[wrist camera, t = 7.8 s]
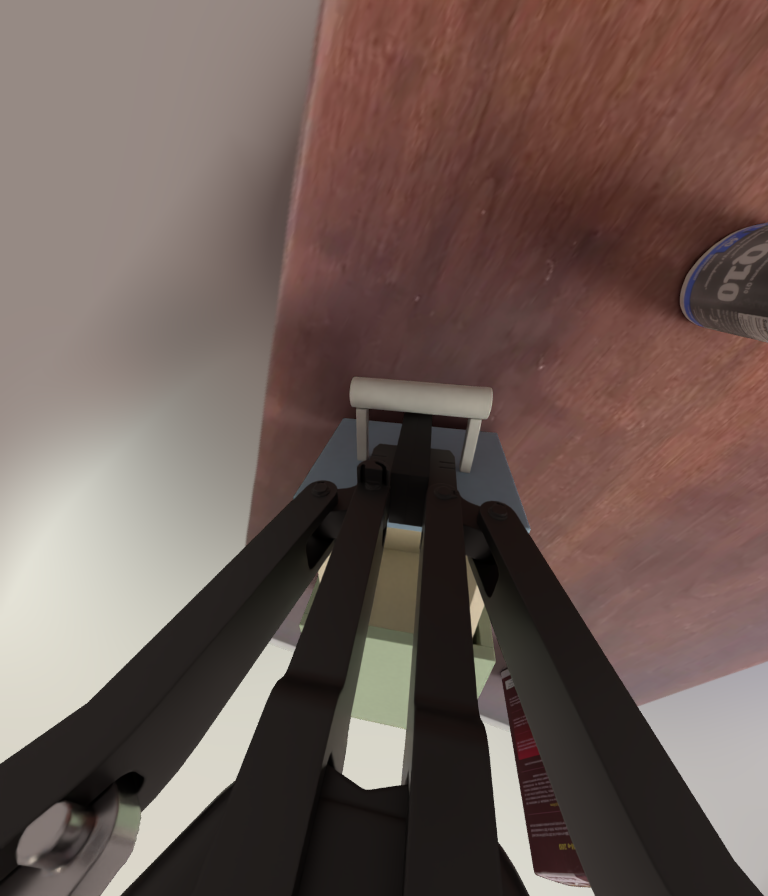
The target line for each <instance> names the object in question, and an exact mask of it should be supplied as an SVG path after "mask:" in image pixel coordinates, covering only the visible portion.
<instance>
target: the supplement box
mask: <svg viewBox="0 0 768 896" xmlns="http://www.w3.org/2000/svg"><path fill="white" fill-rule="evenodd" d="M501 677H502V683H503V689H504V695H505V701H506V707H507V713H508V718H509V725H510V731H511V737H512V742H513V748H514V754H515V761H516V766H517V772H518V778H519V784H520V790H521V796H522V801H523V808H524V814H525V820H526V826H527V833H528V838H529V844H530V850H531V856H532V862H533V868H534V873H535V874H536V875H538V876H540V877H543V878H546V879H549V880H552V881H555V882H558V883H562V884H565V885H569V886H576V887H591V886H590V884H589V882H588V880H587V877H586V875H585V872H584V870H583V867H582V865H581V862H580V860H579V857H578V855H577V852H576V850H575V848H574V845H573V843H572V840H571V838H570V835H569V832H568V830H567V827H566V824H565V821H564V819H563V816H562V813H561V811H560V808H559V805H558V802H557V800H556V797H555V794H554V792H553V789H552V786H551V784H550V781H549V778H548V775H547V773H546V770H545V767H544V765H543V762H542V759H541V757H540V754H539V751H538V748H537V746H536V743H535V740H534V738H533V735H532V732H531V729H530V727H529V724H528V721H527V719H526V716H525V713H524V711H523V708H522V705H521V702H520V700H519V697H518V694H517V692H516V689H515V686H514V683H513V681H512V678H511V675H510V673H509V670H508V669H507V670H505V671H503V672H501Z"/></svg>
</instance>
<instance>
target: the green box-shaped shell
mask: <svg viewBox="0 0 768 896" xmlns="http://www.w3.org/2000/svg"><path fill="white" fill-rule="evenodd" d="M319 584H320V582H319V576H318V579H317V581H316V584H315V586H314V589H313V591H312V594H311V597H310V599H309V602H308V604H307V607H306V609H305V612H304V614H303V617H302V619H301V622H300V625H299V626H300V630H301V632H302V630H303V627H304V624H305V622H306V619H307V616H308V614H309V611H310V608H311V606H312V603H313V600H314V598H315V595H316V592H317V590H318V587H319ZM472 639H473V651H474V663H475V675H476V687H477V699H478V697H479V695H480V693H481V691H482V689H483V687H484V685H485V683H486V681H487V679H488V677H489V675H490V673H491V670H492V668H493V666H494V664H495V662H496V659H495V652H494V645H493V638H492V631H491V624H490V619H489V616H488V613H487V610H486V608H485V605H484V608H483V610H482V613H481V616H480V619H479V621H478V624H477V627H476V630H475V632H474V635H473V638H472ZM412 648H413V633H407V632H402V631H396V630H391V629H385V628H380V627H374V626H368V631H367V637H366V642H365V647H364V652H363V657H362V662H361V667H360V672H359V678H358V683H357V688H356V693H355V698H354V703H353V708H352V713H351V717H353V718H357V719H362V720H366V721H371V722H375V723H380V724H384V725H389V726H393V727H398V728H402V729H406V727H407V714H408V701H409V688H410V674H411V661H412Z"/></svg>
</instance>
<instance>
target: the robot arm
mask: <svg viewBox="0 0 768 896" xmlns="http://www.w3.org/2000/svg"><path fill="white" fill-rule="evenodd" d="M432 415H433V414H422V413H412V412H405V414H404V418H403V423H402V427H401V431H400V435H399V439H398V444H397V445H389V444H378V445H377V446H376V447H375V448H374V449H373V452H372V456H371V458H370V460H365V461H363V462H361V463H359V465H358V466H357V485H355V486H353V487H349V488H341V489H337V486H336V485H335V484H334V483H333V482H331V481H326V480H320V481H315V482H313V483H311V484H309V485H308V486H306V487H305V488H304V489H303V490H302V491H301V492H300V493H299V494H298V495H297V496H296V497H295V498H294V499H293V500H292V501H291V502H290V503H289V504H288V505H287V506H286V507H285V508H284V509H283V510H282V511H281V512H280V513H279V514H278V515H277V516H276V517H275V518H274V519H273V520H272V521H271V522H270V523H269V524H268V525H267V526H266V527H265V528H264V529H263V530H262V531H261V532H260V533H259V534H258V535H257V536H256V537H255V538H254V539H253V540H252V541H251V542H250V543H249V544H248V545H247V546H246V547H245V548H244V549H243V550H242V551H241V552H240V553H239V554H238V555H237V556H236V557H235V558H234V559H233V560H232V561H231V562H230V563H229V564H228V565H226V566H225V568H223V569H222V570H221V571H220V572H219V573H218V574H217V575H216V576H215V578H213V579H212V580H211V581H210V582H209V583H208V584H207V585H206V586H205V587H204V588H203V589H202V590H201V591H200V592H199V593H198V594H197V595H196V596H195V597H194V598H193V599H192V600H191V601H190V602H189V603H188V604H187V605H186V606H185V607H184V608H183V609H182V610H181V611H180V612H179V613H178V614H177V615H176V616H175V617H174V618H173V619H172V620H171V621H170V622H169V623H168V624H167V625H166V626H165V627H164V628H163V629H162V630H161V631H160V632H159V633H158V634H157V635H156V636H155V637H154V638H153V639H152V640H151V641H150V642H149V643H148V644H147V645H146V646H145V647H143V648H142V649H141V650H140V652H138V653H137V655H135V657H133V658H132V659H131V660H130V661H129V662H128V663H127V664H126V665H125V666H124V667H123V668H122V669H121V670H120V671H119V672H118V673H117V674H116V675H115V676H114V677H113V678H112V679H111V680H110V681H109V682H108V683H107V684H106V685H105V686H104V687H103V688H102V689H101V690H100V691H99V692H98V693H97V694H96V695H95V696H94V697H93V698H92V699H91V700H90V701H89V702H88V703H87V704H85V705H84V706H82V707H81V708H79V709H78V710H77V711H75V712H74V713H72V714H71V715H69V716H68V717H67V718H65V719H64V720H62V721H61V722H60V723H58V724H57V725H55V726H54V727H53V728H51V729H49V730H48V731H47V732H45V733H44V734H43V735H41V736H40V737H38V738H37V739H35V740H34V741H33V742H31V743H30V744H28V745H27V746H25V747H24V748H23V749H21V750H20V751H18V752H17V753H15V754H14V755H13V756H11V757H10V758H8V759H7V760H5V761H4V762H2V763H1V764H0V896H100V895H101V894H102V893H103V891H104V890H105V888H106V887H107V886H108V884H109V883H110V882H111V880H112V879H113V878H114V876H115V875H116V873H117V872H118V871H119V869H120V868H121V867H122V866H123V865H124V864H125V863H126V861H127V859H128V858H129V856H130V855H131V853H132V851H133V848H134V845H135V842H136V837H137V834H138V831H139V825H140V820H141V812H142V811H143V810H144V809H145V808H146V807H147V806H148V805H149V804H150V803H151V802H152V801H153V800H154V799H155V798H156V796H157V795H158V794H159V793H160V792H161V790H162V789H163V788H164V787H165V786H166V785H167V784H168V782H169V781H170V780H171V779H172V778H173V776H174V775H175V774H176V773H177V772H178V771H179V769H180V768H181V767H182V765H183V764H184V762H185V761H186V759H187V758H188V757H189V756H190V754H191V753H192V752H193V750H194V749H195V748H196V746H197V745H198V744H199V742H200V741H201V739H202V738H203V736H204V735H205V733H206V732H207V731H208V729H209V727H210V726H211V725H212V723H213V722H214V721H215V719H216V718H217V716H218V715H219V713H220V712H221V710H222V709H223V708H224V706H225V705H226V703H227V702H228V700H229V699H230V697H231V696H232V695H233V693H234V692H235V690H236V689H237V687H238V686H239V684H240V683H241V682H242V680H243V679H244V677H245V676H246V674H247V673H248V672H249V670H250V669H251V667H252V666H253V664H254V663H255V661H256V660H257V659H258V657H259V656H260V654H261V653H262V651H263V650H264V648H265V647H266V646H267V644H268V643H269V641H270V640H271V638H272V637H273V635H274V634H275V633H276V631H277V630H278V628H279V627H280V625H281V624H282V623H283V621H284V620H285V618H286V617H287V615H288V614H289V612H290V611H291V610H292V608H293V607H294V605H295V604H296V602H297V601H298V599H299V598H300V597H301V595H302V594H303V592H304V591H305V589H306V588H307V586H308V585H309V584H310V582H311V581H312V579H313V578H314V576H315V575H316V573H317V572H318V571H319V569H320V568H321V566H322V565H323V563H324V562H325V560H326V559H327V558H328V556H329V555H330V553H331V555H330V557H329V560H328V563H327V565H326V568H325V571H324V574H323V576H322V579H321V582H320V584H319V587H318V590H317V592H316V595H315V598H314V600H313V603H312V606H311V608H310V611H309V614H308V616H307V619H306V622H305V624H304V627H303V630H302V632H301V635H300V638H299V640H298V643H297V646H296V649H295V651H294V654H293V657H292V659H291V662H290V665H289V667H288V669H287V672H286V673H285V675H284V676H283V677H282V678H281V679H280V680H278V681H277V683H276V684H275V686H274V687H273V689H272V691H271V693H270V696H269V698H268V700H267V702H266V705H265V707H264V710H263V712H262V715H261V717H260V720H259V722H258V725H257V727H256V730H255V733H254V735H253V738H252V740H251V743H250V745H249V748H248V750H247V753H246V755H245V758H244V761H243V763H242V766H241V768H240V771H239V773H238V776H237V778H236V781H234V782H233V783H232V784H231V785H229V786H228V787H227V788H226V789H225V790H223V791H222V792H221V793H220V794H219V795H218V796H217V797H216V798H215V799H214V800H213V801H212V802H211V803H210V804H209V805H208V806H207V807H206V808H205V809H204V811H203V812H202V813H201V814H200V815H199V816H198V817H197V818H196V819H195V820H194V821H193V822H192V823H191V824H190V825H189V826H188V827H187V828H186V829H185V830H184V831H183V832H182V833H181V834H180V835H179V836H178V837H177V838H176V839H175V840H174V841H173V842H172V843H171V844H170V845H169V846H168V848H166V850H165V851H164V852H163V853H162V854H161V855H160V856H159V857H158V858H157V859H156V860H155V861H154V862H153V863H152V864H151V865H150V866H149V867H148V868H147V869H146V870H145V871H144V872H143V873H142V874H141V875H140V876H139V877H138V878H137V879H136V880H135V881H134V882H133V883H132V884H131V885H130V886H129V887H128V888H127V889H126V890H125V891H124V893H122V895H121V896H529V894H528V892H527V890H526V888H525V886H524V884H523V882H522V880H521V878H520V876H519V874H518V872H517V871H516V869H515V867H514V865H513V864H512V862H511V861H510V859H509V857H508V856H507V854H506V852H505V851H504V850H503V848H502V847H501V845H500V844H499V843H498V838H497V828H496V818H495V808H494V798H493V787H492V777H491V767H490V756H489V747H488V741H487V734H486V730H485V726H484V724H483V722H482V720H481V718H480V715H479V709H478V699H477V687H476V675H475V663H474V651H473V639H472V627H471V614H470V602H469V590H468V578H467V566H466V556H467V558H468V562H469V564H470V567H471V570H472V573H473V575H474V578H475V581H476V583H477V586H478V589H479V591H480V594H481V597H482V600H483V602H484V605H485V608H486V610H487V613H488V616H489V619H490V621H491V624H492V627H493V629H494V632H495V635H496V637H497V640H498V643H499V646H500V648H501V651H502V654H503V656H504V659H505V662H506V665H507V667H508V670H509V673H510V675H511V678H512V681H513V683H514V686H515V689H516V692H517V694H518V697H519V700H520V702H521V705H522V708H523V711H524V713H525V716H526V719H527V721H528V724H529V727H530V729H531V732H532V735H533V738H534V740H535V743H536V746H537V748H538V751H539V754H540V757H541V759H542V762H543V765H544V767H545V770H546V773H547V775H548V778H549V781H550V784H551V786H552V789H553V792H554V794H555V797H556V800H557V802H558V805H559V808H560V811H561V813H562V816H563V819H564V821H565V824H566V827H567V830H568V832H569V835H570V838H571V840H572V843H573V845H574V848H575V850H576V852H577V855H578V857H579V860H580V862H581V865H582V867H583V870H584V872H585V875H586V877H587V880H588V882H589V884H590V886H591V888H592V890H593V892H594V894H595V896H764V895H763V894H762V893H761V892H760V891H759V889H758V888H757V887H756V886H755V885H754V884H753V882H752V881H751V880H750V879H749V878H748V876H747V875H746V874H745V873H744V872H743V871H742V869H741V868H740V867H739V866H738V865H737V863H736V862H735V861H734V859H733V858H732V856H731V855H730V853H729V852H728V850H727V848H726V847H725V845H724V844H723V842H722V840H721V839H720V838H719V836H718V834H717V832H716V831H715V829H714V828H713V826H712V825H711V823H710V821H709V820H708V818H707V817H706V815H705V813H704V812H703V810H702V809H701V807H700V805H699V804H698V802H697V801H696V799H695V797H694V796H693V794H692V793H691V791H690V790H689V788H688V786H687V785H686V783H685V781H684V780H683V778H682V777H681V775H680V774H679V772H678V770H677V769H676V767H675V766H674V764H673V762H672V761H671V759H670V758H669V756H668V754H667V753H666V751H665V750H664V748H663V746H662V745H661V744H660V742H659V740H658V739H657V737H656V735H655V734H654V732H653V731H652V729H651V727H650V726H649V724H648V723H647V721H646V719H645V718H644V716H643V715H642V713H641V711H640V710H639V708H638V707H637V705H636V704H635V702H634V700H633V699H632V697H631V696H630V694H629V692H628V691H627V689H626V688H625V686H624V684H623V683H622V681H621V680H620V678H619V676H618V675H617V673H616V672H615V670H614V668H613V667H612V665H611V664H610V662H609V661H608V659H607V657H606V656H605V654H604V653H603V651H602V649H601V648H600V646H599V645H598V643H597V641H596V640H595V638H594V637H593V635H592V633H591V632H590V630H589V629H588V627H587V626H586V624H585V622H584V621H583V619H582V618H581V616H580V614H579V613H578V611H577V610H576V608H575V606H574V605H573V603H572V602H571V600H570V598H569V597H568V595H567V594H566V592H565V591H564V589H563V587H562V586H561V584H560V583H559V581H558V579H557V578H556V576H555V575H554V573H553V571H552V570H551V568H550V567H549V565H548V563H547V562H546V560H545V559H544V557H543V555H542V554H541V552H540V551H539V549H538V548H537V546H536V544H535V543H534V541H533V540H532V538H531V536H530V535H529V533H528V532H527V530H526V528H525V527H524V525H523V524H522V522H521V520H520V519H519V517H518V516H517V514H516V513H515V511H514V510H513V509H512V508H511V507H509V506H508V505H506V504H505V503H502V502H499V501H486V502H484V503H483V504H481V506H478V505H475V504H473V503H470V502H468V501H466V500H465V499H463V498H462V497H461V495H460V493H459V491H458V490H457V479H456V466H455V456H454V455H453V454H452V452H451V451H450V450H442V449H433V448H431V434H432ZM387 523H396V524H403V525H410V526H417V527H422V532H421V539H420V546H419V549H420V554H419V568H418V581H417V594H416V608H415V621H414V634H413V648H412V661H411V674H410V688H409V701H408V714H407V727H406V740H405V750H404V759H403V770H402V783H401V785H399V786H392V787H386V788H379V789H372V790H365V789H362V788H361V787H359V786H358V785H356V784H355V783H354V782H352V781H351V780H349V779H348V778H346V777H345V776H344V775H342V771H343V765H344V760H345V754H346V747H347V737H348V730H349V724H350V719H351V713H352V708H353V703H354V698H355V693H356V688H357V683H358V678H359V672H360V667H361V662H362V657H363V652H364V647H365V642H366V637H367V631H368V626H369V621H370V616H371V611H372V606H373V601H374V596H375V590H376V585H377V580H378V575H379V570H380V565H381V560H382V555H383V549H384V544H385V539H386V534H387Z"/></svg>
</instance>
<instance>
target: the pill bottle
mask: <svg viewBox="0 0 768 896" xmlns="http://www.w3.org/2000/svg"><path fill="white" fill-rule="evenodd" d="M680 306H681V309H682V312H683V314H684V315H685V317H686V318H687V319H688V320H689V321H691V322H692V323H694V324H696V325H698V326H701V327H705V328H709V329H713V330H717V331H721V332H726V333H730V334H734V335H738V336H742V337H747V338H751V339H755V340H759V341H763V342H767V343H768V223H763V224H758V225H753V226H750V227H746V228H743V229H741V230H738V231H736V232H734V233H732V234H730V235H728V236H727V237H725V238H724V239H722V240H721V241H719V242H718V243H716V244H715V245H714V246H712V247H711V248H710V249H709V250H708V251H707V252H705V253H704V254H703V256H702V257H701V258H700V259H699V260H698V261H697V262H696V263H695V265H694V266H693V267H692V268H691V270H690V271H689V272H688V274H687V276H686V278H685V281H684V283H683V286H682V289H681V294H680Z"/></svg>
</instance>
